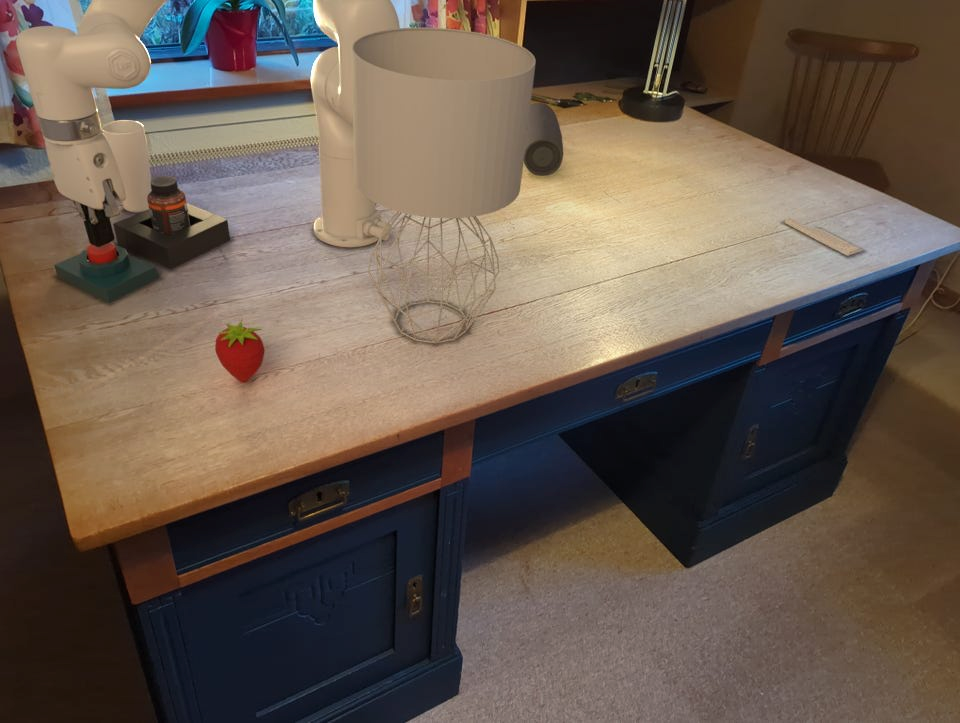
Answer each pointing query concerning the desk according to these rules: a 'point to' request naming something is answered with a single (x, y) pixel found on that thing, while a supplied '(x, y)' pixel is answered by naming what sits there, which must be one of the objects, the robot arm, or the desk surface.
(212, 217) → the socket block
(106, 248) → the switch button
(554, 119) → the bluetooth speaker
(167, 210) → the supplement bottle
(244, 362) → the strawberry
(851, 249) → the thin wooden strip
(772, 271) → the desk surface
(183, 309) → the desk surface
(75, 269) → the switch box
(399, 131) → the table lamp
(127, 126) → the drinking glass
